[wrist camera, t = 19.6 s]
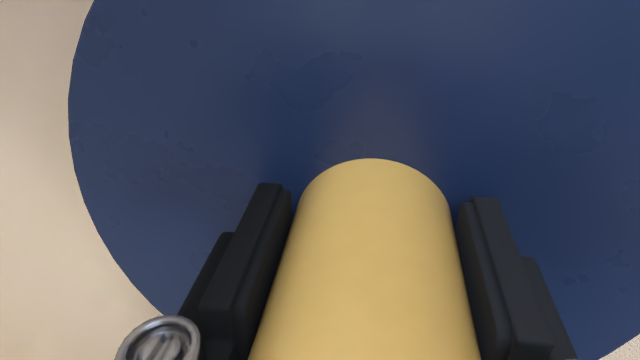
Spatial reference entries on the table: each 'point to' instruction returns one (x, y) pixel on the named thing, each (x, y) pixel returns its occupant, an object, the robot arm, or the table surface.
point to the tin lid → (368, 157)
